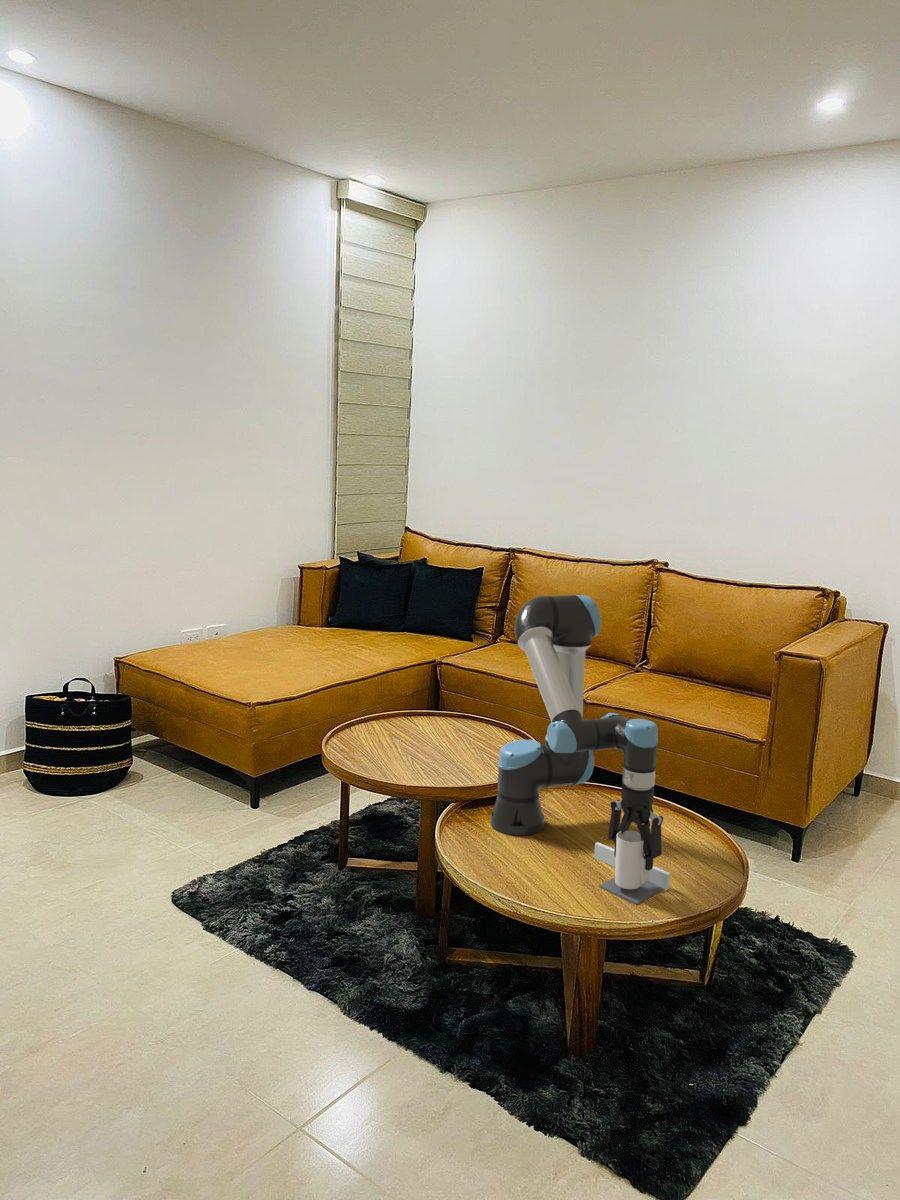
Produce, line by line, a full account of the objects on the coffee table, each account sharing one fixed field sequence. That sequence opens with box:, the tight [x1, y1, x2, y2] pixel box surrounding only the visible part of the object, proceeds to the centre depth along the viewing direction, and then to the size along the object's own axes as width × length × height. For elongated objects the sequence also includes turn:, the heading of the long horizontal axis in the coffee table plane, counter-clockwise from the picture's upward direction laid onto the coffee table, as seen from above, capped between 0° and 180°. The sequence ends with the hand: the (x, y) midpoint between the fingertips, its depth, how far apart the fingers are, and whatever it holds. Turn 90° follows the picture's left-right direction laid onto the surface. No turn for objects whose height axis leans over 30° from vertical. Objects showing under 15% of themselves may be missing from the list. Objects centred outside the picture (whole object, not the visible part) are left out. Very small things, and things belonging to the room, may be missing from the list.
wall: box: [593, 841, 671, 891], centre depth 224 cm, size 22×1×4 cm, turn 43°
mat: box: [598, 877, 665, 906], centre depth 216 cm, size 11×11×1 cm
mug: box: [614, 830, 645, 889], centre depth 215 cm, size 10×7×12 cm, turn 137°
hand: (632, 875), depth 215 cm, fingers closed on mug, 6 cm apart
